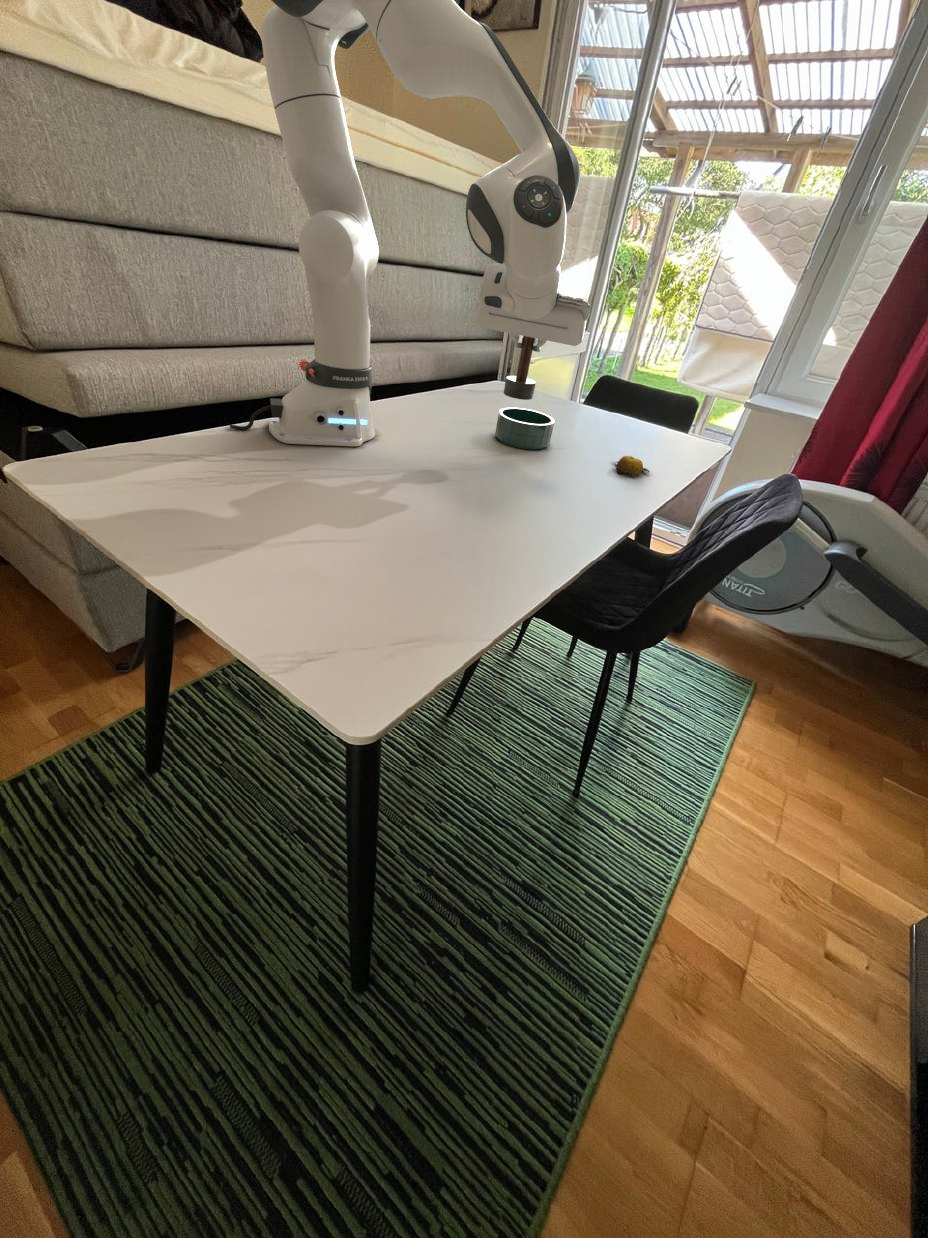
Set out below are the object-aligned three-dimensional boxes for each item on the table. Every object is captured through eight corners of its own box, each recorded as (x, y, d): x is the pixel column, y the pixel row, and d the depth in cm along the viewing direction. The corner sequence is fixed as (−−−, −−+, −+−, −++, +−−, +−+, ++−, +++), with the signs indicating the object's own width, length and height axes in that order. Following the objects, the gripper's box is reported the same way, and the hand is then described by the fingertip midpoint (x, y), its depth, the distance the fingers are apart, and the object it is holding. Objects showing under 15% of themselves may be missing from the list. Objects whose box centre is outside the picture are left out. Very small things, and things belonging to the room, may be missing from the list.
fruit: (649, 472, 122) (655, 457, 120) (642, 481, 116) (647, 465, 114) (616, 462, 125) (621, 447, 123) (607, 471, 119) (612, 455, 117)
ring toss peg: (513, 399, 101) (530, 305, 92) (498, 390, 105) (513, 300, 96) (538, 400, 104) (557, 308, 95) (522, 391, 108) (539, 303, 99)
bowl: (512, 451, 121) (518, 425, 117) (485, 432, 130) (489, 407, 127) (559, 449, 127) (565, 424, 123) (529, 431, 136) (534, 407, 133)
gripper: (597, 284, 86) (584, 342, 99) (479, 262, 88) (482, 322, 102) (588, 317, 85) (576, 371, 98) (469, 294, 87) (473, 350, 101)
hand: (527, 346), depth 100 cm, fingers closed on ring toss peg, 2 cm apart
